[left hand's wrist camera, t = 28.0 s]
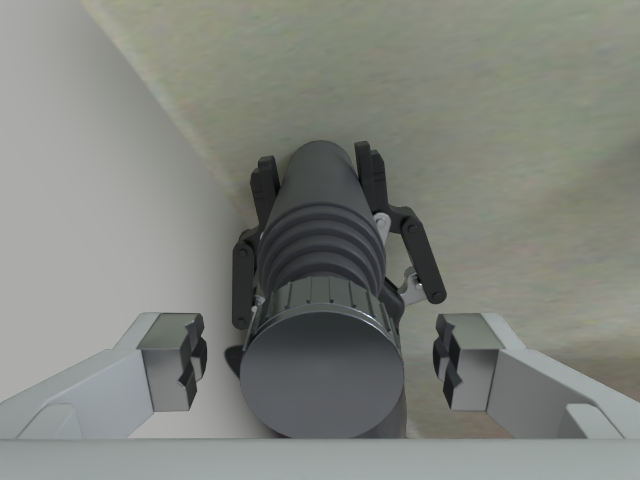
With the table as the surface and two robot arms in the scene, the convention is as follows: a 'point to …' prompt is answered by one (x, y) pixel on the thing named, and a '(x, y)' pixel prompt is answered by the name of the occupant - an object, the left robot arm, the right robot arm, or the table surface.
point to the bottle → (321, 225)
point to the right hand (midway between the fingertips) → (313, 152)
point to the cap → (321, 360)
